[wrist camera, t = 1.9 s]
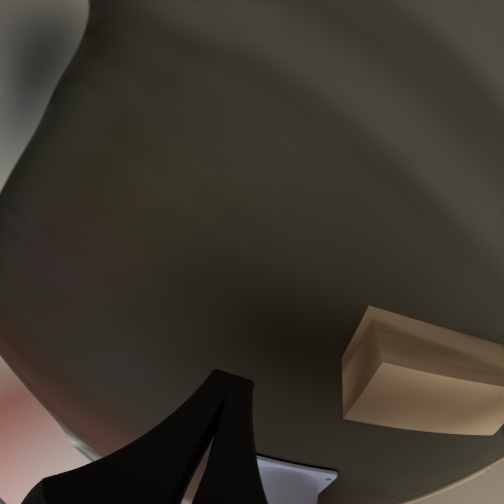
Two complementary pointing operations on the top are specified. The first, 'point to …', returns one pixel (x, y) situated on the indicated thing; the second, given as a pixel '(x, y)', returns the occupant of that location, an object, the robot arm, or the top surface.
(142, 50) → the top surface
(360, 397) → the brown wooden block
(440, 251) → the top surface
